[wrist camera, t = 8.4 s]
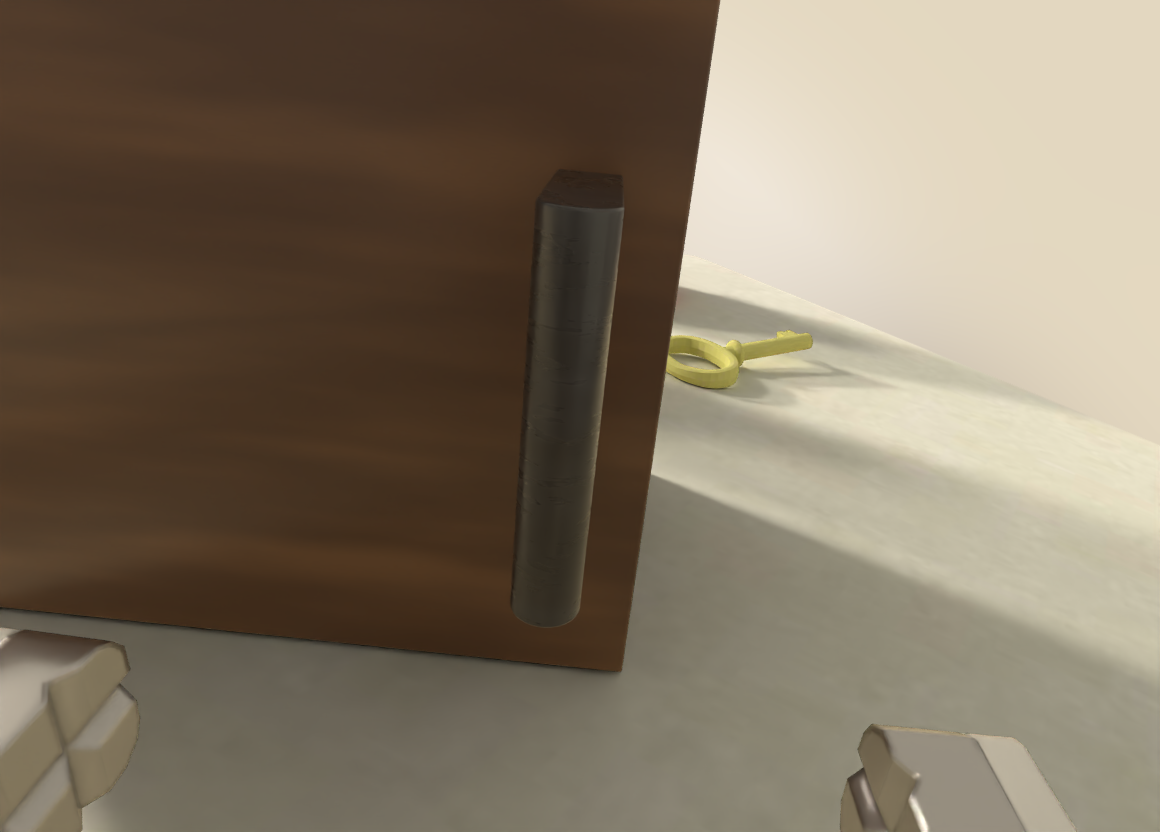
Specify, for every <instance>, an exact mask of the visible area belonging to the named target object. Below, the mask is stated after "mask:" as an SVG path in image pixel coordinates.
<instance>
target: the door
mask: <svg viewBox="0 0 1160 832" xmlns="http://www.w3.org/2000/svg"><path fill="white" fill-rule="evenodd" d="M719 5H720V0H0V607H6V608H15V609H25V610H34V611H44V612H54V613H63V614H73V615H82V616H92V617H101V618H111V619H120V620H130V621H140V622H149V623H159V624H168V625H178V626H187V627H197V628H206V629H216V630H225V631H235V632H245V633H254V634H264V635H273V636H283V637H292V638H302V639H311V640H321V641H330V642H340V643H350V644H359V645H369V646H378V647H388V648H397V649H407V650H416V651H426V652H436V653H445V654H455V655H464V656H474V657H483V658H493V659H502V660H512V661H521V662H531V663H541V664H550V665H560V666H569V667H579V668H588V669H598V670H607V671H617V672H621V670H622V666H623V659H624V652H625V645H626V638H627V632H628V625H629V618H630V611H631V604H632V598H633V591H634V584H635V577H636V570H637V564H638V557H639V550H640V543H641V536H642V530H643V523H644V516H645V509H646V502H647V495H648V489H649V482H650V475H651V468H652V461H653V455H654V448H655V441H656V434H657V427H658V421H659V414H660V407H661V400H662V393H663V387H664V380H665V373H666V366H667V359H668V353H669V346H670V339H671V332H672V325H673V319H674V312H675V305H676V298H677V291H678V284H679V278H680V271H681V264H682V257H683V250H684V244H685V237H686V230H687V223H688V216H689V209H690V202H691V196H692V189H693V182H694V176H695V169H696V162H697V154H698V148H699V141H700V134H701V128H702V121H703V114H704V107H705V100H706V94H707V87H708V80H709V74H710V66H711V60H712V53H713V46H714V39H715V33H716V26H717V19H718V12H719Z"/></svg>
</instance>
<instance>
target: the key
mask: <svg viewBox="0 0 1160 832" xmlns="http://www.w3.org/2000/svg"><path fill="white" fill-rule="evenodd" d="M777 337H778V338H774V339H768V340H762V341H756V342H750V343H744V344H741V343H740V342H738V341H737V340H732V341H729V342H728V344H727V345H726V347H722V346H720V345H718V344H716V343H713V342H711V341H708V340H705V339H702V338H698V337H693V336H683V335H679V336H671V339H670V346H669V353H668V359H667V366H666V371H667V372H668V373H670V374H671V375H673V376H675V377H677V378H679V379H681V380H683V381H685V382H688V383H691V384H694V385H697V386H701V387H706V388H724V387H729V386H731V385H733V384H734V383H735V382H736V380H737V377H738V374H739V366H741V365H742V363H743V361H744V360H750V359H756V358H761V357H767V356H772V355H778V354H783V353H789V352H794V351H800V350H805V349H809V348H811V346H812V344H813V340H812V337H811V335H810V334H809V333H803V334H796V333H794V332H792V331H790V330H786V332H782V331H779V332H777ZM672 353H687V354H692V355H696V356H699V357H702V358H704V359H707V360H709V361H711V362H712V363H714V364H716V365H717V366H719V367H720V368H721V369H716V370H705V369H698V368H694V367H690V366H686V365H684V364H681V363H679V362H678V361H676V360H674V359H673V358H672V357H671V356H670V355H669V354H672Z"/></svg>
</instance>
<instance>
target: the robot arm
mask: <svg viewBox="0 0 1160 832" xmlns="http://www.w3.org/2000/svg"><path fill="white" fill-rule="evenodd" d="M129 671H130V666H129V662H128V658H127V654H126V651H125V647H124V646H123V645H120V644H117V643H115V642H112V641H105V640H98V639H90V638H83V637H75V636H68V635H61V634H53V633H46V632H39V631H31V630H17V629H9V628H2V627H0V832H81V831H82V808H83V807H85V806H87V805H88V804H90V803H92V802H93V801H95V800H96V799H98V798H100V797H101V796H103V795H105V794H106V793H108V792H109V791H111V789H112V788H113V786H114V785H115V783H116V782H117V781H118V779H119V778H120V776H121V775H122V773H123V772H124V770H125V769H126V768H127V766H128V763H129V760H130V758H131V755H132V753H133V750H134V748H135V745H136V742H137V740H138V733H139V723H140V715H139V710H138V704H137V700H136V699H135V698H134V697H133V696H132V695H131V694H130V693H129V692H128V691H127V690H126V689H125V688H124V687H123V686H122V685H121V684H120V682H121V681H122V680H123V678H124V677H125V676H126V675H127V673H128V672H129ZM858 752H859V755H860V758H861V761H862V764H863V766H864V767H863V768H862V769H861V770H859V771H858V772H856V773H855V774H853V775H852V776H850V777H849V778H848V779H847V782H846V785H845V789H844V792H843V796H842V799H841V813H840V831H841V832H1078V831H1077V830H1076V828H1075V827H1074V825H1073V823H1072V822H1071V820H1070V818H1069V817H1068V815H1067V814H1066V812H1065V810H1064V809H1063V807H1062V805H1061V804H1060V802H1059V801H1058V799H1057V797H1056V796H1055V794H1054V792H1053V791H1052V789H1051V788H1050V786H1049V784H1048V783H1047V781H1046V779H1045V778H1044V776H1043V775H1042V773H1041V771H1040V770H1039V768H1038V766H1037V765H1036V763H1035V762H1034V760H1033V758H1032V757H1031V755H1030V754H1029V752H1028V750H1027V749H1026V748H1025V746H1024V745H1022V744H1021V743H1020V742H1019V741H1017V740H1016V739H1015V738H1010V737H1000V736H990V735H980V734H970V733H966V734H962V733H959V732H949V731H938V730H928V729H918V728H908V727H898V726H888V725H878V724H871V725H870V726H869V727H868V728H867V729H866V730H865V731H864V733H863V736H862V738H861V741H860V744H859V747H858Z"/></svg>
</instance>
